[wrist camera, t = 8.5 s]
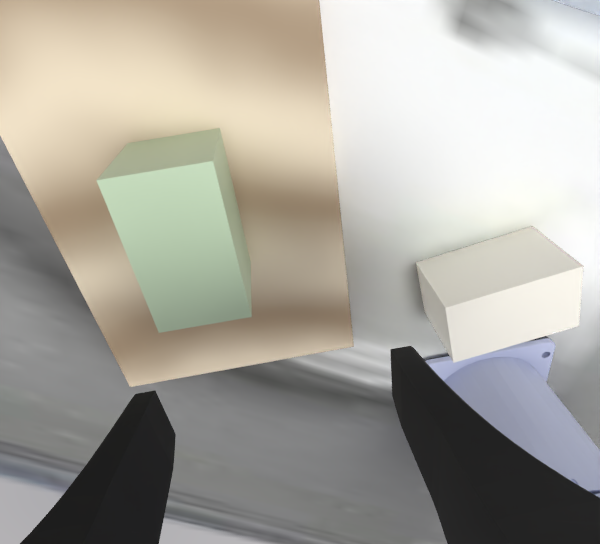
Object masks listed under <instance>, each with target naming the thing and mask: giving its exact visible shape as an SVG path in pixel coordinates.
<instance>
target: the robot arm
mask: <svg viewBox="0 0 600 544" xmlns="http://www.w3.org/2000/svg"><path fill="white" fill-rule="evenodd" d="M554 350H555V343H554V342H553V341H552V340H551V339H549V338H546V339H540V340H534V341H529V342H523V343H520V344H516V345H513V346H510V347H506V348H503V349H499V350H496V351H492V352H489V353H486V354H482V355H479V356H475V357H472V358H469V359H465V360H462V361H458V362H455V363H453V361H452V359H451V358H450V356H446V357H441V358H435V359H430V360H426V361H425V360H424V359H423V358H422V357H421V356H420V355H419V354H418V352H417V351H416V350H415V349H414V348H413V347H411V346H407V347H402V348H396V349H391V371H392V396H393V399H394V403H395V406H396V410H397V413H398V416H399V419H400V423H401V426H402V429H403V431H404V434H405V436H406V438H407V441H408V443H409V445H410V448H411V450H412V453H413V455H414V457H415V460H416V462H417V464H418V467H419V469H420V471H421V474H422V476H423V478H424V481H425V483H426V485H427V488H428V490H429V492H430V495H431V497H432V500H433V502H434V505H435V507H436V510H437V513H438V516H439V519H440V522H441V525H442V528H443V531H444V534H445V537H446V540H447V543H448V544H600V450H599V449H598V447H597V446H596V445H595V444H594V442H593V441H592V440H591V438H590V437H589V436H588V435H587V433H586V432H585V431H584V430H583V428H582V427H581V426H580V424H579V423H578V422H577V421H576V419H575V418H574V417H573V416H572V414H571V413H570V412H569V411H568V409H567V408H566V407H565V405H564V404H563V403H562V402H561V400H560V399H559V398H558V397H557V395H556V394H555V393H554V392H553V390H552V389H551V388H550V386H549V385H548V384H547V379H548V375H549V370H550V366H551V362H552V358H553V354H554ZM174 450H175V432H174V430H173V428H172V426H171V424H170V421H169V419H168V417H167V415H166V413H165V411H164V409H163V406H162V404H161V402H160V400H159V398H158V396H157V393H156V391H151V392H145V393H139V394H135V395H134V397H133V398H132V399H131V401H130V402H129V404H128V405H127V407H126V408H125V410H124V411H123V413H122V414H121V416H120V417H119V419H118V420H117V422H116V423H115V425H114V426H113V428H112V429H111V431H110V432H109V433H108V435H107V436H106V438H105V439H104V441H103V442H102V444H101V445H100V446H99V448H98V449H97V451H96V452H95V454H94V455H93V456H92V458H91V459H90V461H89V462H88V463H87V465H86V466H85V467H84V469H83V470H82V471H81V473H80V474H79V475H78V477H77V478H76V479H75V480H74V482H73V483H72V484H71V486H70V487H69V488H68V490H67V491H66V492H65V493H64V495H63V496H62V497H61V498H60V500H59V501H58V502H57V503H56V505H55V506H54V507H53V508H52V509H51V510H50V511H49V513H48V514H47V515H46V516H45V517H44V518H43V520H42V521H41V522H40V523H39V524H38V525H37V526H36V527H35V528H34V530H33V531H32V532H31V533H30V534H29V535H28V536H27V537H26V538H25V539H24V540H23V541H22V542H21V543H20V544H159V539H160V534H161V529H162V523H163V518H164V513H165V508H166V503H167V498H168V493H169V488H170V482H171V477H172V471H173V463H174Z"/></svg>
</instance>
